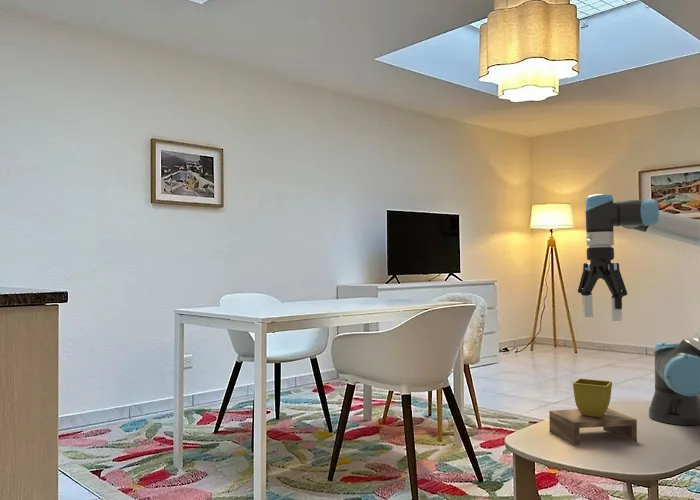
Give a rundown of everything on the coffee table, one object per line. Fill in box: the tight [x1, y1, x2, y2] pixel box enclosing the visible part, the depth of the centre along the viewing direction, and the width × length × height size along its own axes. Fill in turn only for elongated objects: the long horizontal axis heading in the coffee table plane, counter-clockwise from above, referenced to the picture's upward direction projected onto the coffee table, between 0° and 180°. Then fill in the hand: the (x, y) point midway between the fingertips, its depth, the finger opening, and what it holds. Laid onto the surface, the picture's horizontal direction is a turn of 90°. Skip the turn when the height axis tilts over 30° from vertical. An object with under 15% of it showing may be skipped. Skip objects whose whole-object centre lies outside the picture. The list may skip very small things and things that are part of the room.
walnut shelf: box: [548, 407, 638, 447], centre depth 168 cm, size 18×13×6 cm
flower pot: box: [572, 378, 613, 417], centre depth 168 cm, size 9×9×9 cm
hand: (601, 318), depth 182 cm, fingers open, 13 cm apart
